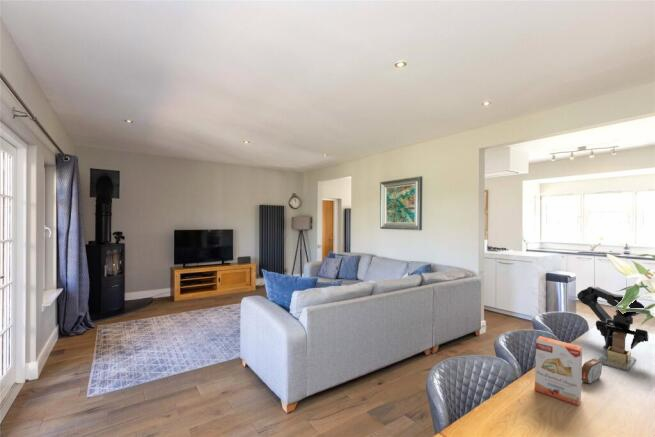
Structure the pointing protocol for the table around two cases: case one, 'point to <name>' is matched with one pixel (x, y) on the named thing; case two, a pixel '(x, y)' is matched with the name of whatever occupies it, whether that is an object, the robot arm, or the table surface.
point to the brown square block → (618, 343)
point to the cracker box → (558, 369)
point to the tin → (591, 371)
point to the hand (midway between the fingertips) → (618, 345)
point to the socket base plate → (617, 359)
